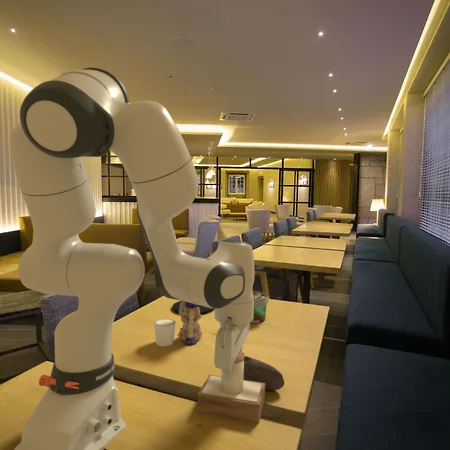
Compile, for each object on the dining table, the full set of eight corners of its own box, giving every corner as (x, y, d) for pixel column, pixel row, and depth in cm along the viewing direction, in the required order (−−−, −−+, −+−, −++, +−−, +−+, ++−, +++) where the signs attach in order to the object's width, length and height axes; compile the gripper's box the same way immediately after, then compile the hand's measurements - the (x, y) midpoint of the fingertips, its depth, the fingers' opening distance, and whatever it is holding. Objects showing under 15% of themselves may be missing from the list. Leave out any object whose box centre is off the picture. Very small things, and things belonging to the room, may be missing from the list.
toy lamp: (198, 340, 117) (199, 291, 115) (197, 346, 112) (198, 295, 111) (184, 340, 117) (185, 291, 115) (182, 346, 112) (183, 295, 111)
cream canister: (241, 396, 78) (241, 361, 77) (217, 392, 79) (218, 358, 78) (245, 383, 83) (246, 351, 82) (223, 380, 84) (224, 348, 83)
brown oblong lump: (286, 388, 89) (287, 362, 88) (280, 399, 84) (281, 371, 83) (233, 374, 95) (233, 349, 95) (224, 383, 91) (225, 357, 90)
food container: (267, 327, 129) (268, 300, 128) (250, 326, 130) (251, 299, 129) (268, 316, 141) (269, 291, 140) (253, 314, 142) (254, 290, 141)
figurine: (173, 335, 120) (173, 277, 118) (195, 330, 124) (196, 275, 122) (183, 345, 112) (184, 284, 110) (207, 339, 117) (208, 281, 115)
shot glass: (171, 348, 110) (171, 326, 110) (150, 346, 112) (150, 324, 111) (178, 339, 117) (178, 319, 116) (158, 337, 118) (158, 317, 118)
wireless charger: (197, 301, 160) (197, 296, 160) (223, 311, 147) (223, 306, 147) (164, 309, 148) (164, 304, 148) (189, 321, 135) (189, 315, 135)
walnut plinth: (259, 422, 75) (259, 404, 75) (197, 411, 79) (197, 393, 78) (264, 399, 84) (265, 382, 84) (209, 390, 87) (209, 373, 87)
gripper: (238, 329, 68) (236, 396, 70) (255, 299, 88) (253, 352, 89) (207, 325, 70) (206, 391, 71) (230, 297, 90) (229, 349, 91)
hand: (232, 369), depth 80 cm, fingers open, 8 cm apart
